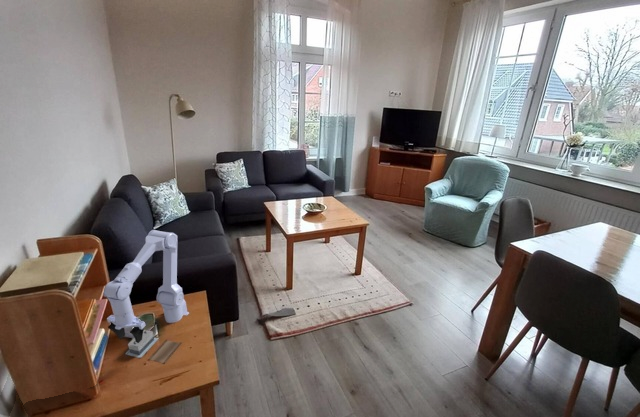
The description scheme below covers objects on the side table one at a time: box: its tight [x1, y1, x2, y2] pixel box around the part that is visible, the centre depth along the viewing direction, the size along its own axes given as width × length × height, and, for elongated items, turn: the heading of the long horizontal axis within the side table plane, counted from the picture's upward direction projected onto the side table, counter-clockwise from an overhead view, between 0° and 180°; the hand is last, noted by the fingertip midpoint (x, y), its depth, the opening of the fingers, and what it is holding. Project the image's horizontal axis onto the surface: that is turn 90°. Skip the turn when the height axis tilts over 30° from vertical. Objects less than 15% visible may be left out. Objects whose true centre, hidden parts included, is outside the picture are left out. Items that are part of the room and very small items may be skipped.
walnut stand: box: [148, 339, 182, 364], centre depth 121 cm, size 7×10×2 cm
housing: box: [127, 329, 155, 355], centre depth 122 cm, size 8×4×5 cm, turn 168°
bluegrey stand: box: [124, 337, 159, 359], centre depth 123 cm, size 7×10×2 cm
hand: (130, 339), depth 115 cm, fingers open, 7 cm apart
